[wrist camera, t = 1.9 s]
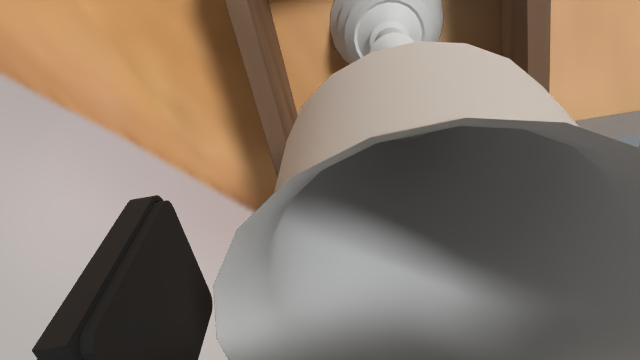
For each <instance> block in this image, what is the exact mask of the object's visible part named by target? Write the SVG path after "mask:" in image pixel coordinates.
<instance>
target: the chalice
mask: <svg viewBox="0 0 640 360" xmlns="http://www.w3.org/2000/svg"><path fill="white" fill-rule="evenodd" d="M443 18H444V17H443V10H442V3H441V0H335V1H334V4H333V7H332V9H331V17H330V31H331V35H332V39H333V43H334V46H335V48H336V49H337V51H338V52H339V54H340V55H341V57H342V58H343V60H344V61H346V62H347V63H348V64H349V65H348V66H346V67H344V68H342V69H341V70H339V71H337V72H335V73H334V74H332V75H331V76H330V77H329V78H328V79H327V80H326V81H325V82H324V83H323V84H322V85H321V86H320V87H319V88H318V89H317V90H316V92H315V93H314V94H313V95H312V96H311V97H310V98H309V99H308V100H307V101H306V102H305V103H304V104H303V105H302V107H301V109H300V112H299V114H298V116H297V119H296V121H295V123H294V125H293V128H292V130H291V132H290V135H289V137H288V139H287V142H286V146H285V150H284V154H283V158H282V162H281V167H280V171H279V175H278V179H277V183H276V187H275V191H274V194H273V195H272V196H271V197H270V198H269V199H268V200H267V201H266V202H265V203H264V204H263V205H262V206H261V207H260V208H259V209H258V210H257V211H256V212H255V213H254V214H253V215H252V216H251V217H250V218H248V220H246V221H245V222H244V223H243V224H242V225H241V226H240V227H239V229H237V231H236V233H235V236H234V238H233V240H232V243H231V245H230V248H229V250H228V252H227V255H226V257H225V259H224V262H223V264H222V267H221V269H220V271H219V273H218V276H217V278H216V281H215V283H214V286H213V289H214V304H215V320H216V333H217V340H218V342H219V343H220V345H221V347H222V348H223V351H224V352H225V354H226V356H227V358H228V360H640V148H638V147H635V146H633V145H630V144H627V143H624V142H621V141H618V140H615V139H612V138H609V137H607V136H604V135H601V134H598V133H595V132H592V131H589V130H586V129H583V128H581V127H579V126H578V125H577V124H576V123H575V122H574V120H573V119H572V118H571V117H570V116H569V115H568V114H567V113H566V112H565V111H564V109H563V108H562V107H561V106H560V105H559V104H558V103H557V102H556V101H555V99H554V98H553V97H552V96H551V95H550V94H549V93H548V92H547V91H546V90H545V88H544V87H543V86H542V85H541V84H539V83H538V82H537V81H536V80H535V79H533V78H532V77H531V76H530V75H528V74H527V73H526V72H525V71H524V70H522V69H521V68H520V67H519V66H518V65H516V64H515V63H514V62H513V61H512V60H510V59H509V58H506V57H503V56H500V55H498V54H495V53H492V52H489V51H487V50H484V49H481V48H478V47H475V46H473V45H470V44H467V43H450V42H437V41H438V40H439V38H440V36H441V30H442V24H443Z"/></svg>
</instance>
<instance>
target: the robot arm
mask: <svg viewBox="0 0 640 360" xmlns="http://www.w3.org/2000/svg"><path fill="white" fill-rule="evenodd" d="M639 148H640V147H639ZM211 313H212V297H211V294H210V291H209V289H208V286H207V284H206V282H205V280H204V277H203V275H202V273H201V270H200V268H199V266H198V263H197V261H196V259H195V256H194V254H193V252H192V249H191V247H190V245H189V242H188V240H187V238H186V235H185V233H184V231H183V228H182V226H181V224H180V221H179V219H178V217H177V214H176V212H175V210H174V208H173V206H172V204H171V203H170V202H169V201H163V199H162V198H161V197H160V196H157V195H156V196H151V197H145V198H139V199H133V200H130V201H129V202H128V203H127V205H126V206H125V208H124V210H123V211H122V213H121V214H120V216H119V217H118V219H117V220H116V222H115V223H114V225H113V227H112V228H111V230H110V231H109V233H108V234H107V236H106V237H105V239H104V240H103V242H102V243H101V245H100V247H99V248H98V250H97V251H96V253H95V254H94V256H93V257H92V259H91V260H90V262H89V263H88V265H87V266H86V268H85V269H84V271H83V273H82V274H81V276H80V277H79V279H78V280H77V282H76V283H75V285H74V286H73V288H72V289H71V291H70V292H69V294H68V296H67V297H66V299H65V300H64V302H63V303H62V305H61V306H60V308H59V309H58V311H57V313H56V314H55V316H54V317H53V319H52V320H51V322H50V323H49V325H48V326H47V328H46V329H45V331H44V332H43V334H42V336H41V337H40V339H39V340H38V342H37V343H36V345H35V346H34V348H33V349H32V352H33V353H34V354H35V356H36V357H37V358H38V359H37V360H198V357H199V354H200V351H201V347H202V344H203V340H204V337H205V333H206V330H207V327H208V323H209V320H210V316H211Z"/></svg>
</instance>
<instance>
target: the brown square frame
mask: <svg viewBox="0 0 640 360" xmlns="http://www.w3.org/2000/svg"><path fill="white" fill-rule="evenodd" d="M225 2H226V6H227V9H228V12H229V16H230V19H231V22H232V26H233V29H234V32H235V36H236V39H237V42H238V46H239V49H240V53H241V56H242V59H243V63H244V66H245V69H246V73H247V76H248V79H249V83H250V86H251V90H252V93H253V96H254V100H255V103H256V106H257V110H258V113H259V116H260V120H261V123H262V127H263V130H264V133H265V137H266V140H267V143H268V147H269V150H270V153H271V157H272V160H273V164H274V167H275V170H276V174H277V177H278V175H279V171H280V167H281V162H282V158H283V154H284V150H285V146H286V142H287V139H288V137H289V135H290V132H291V130H292V128H293V125H294V123H295V121H296V119H297V112H296V108H295V104H294V101H293V97H292V93H291V89H290V85H289V81H288V77H287V73H286V69H285V65H284V62H283V58H282V54H281V50H280V46H279V42H278V38H277V34H276V30H275V26H274V23H273V19H272V15H271V11H270V7H269V3H268V0H225ZM500 6H501V36H502V56H503V57H506V58H509V59H510V60H512V61H513V62H514V63H515V64H516V65H518V66H519V67H520V68H521V69H522V70H524V71H525V72H526V73H527V74H528V75H530V76H531V77H532V78H533V79H535V80H536V81H537V82H538V83H539V84H541V85H542V86H543V87H544V88H545V90H546V91H547V92H548V93H549V76H550V9H551V0H500Z"/></svg>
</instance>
